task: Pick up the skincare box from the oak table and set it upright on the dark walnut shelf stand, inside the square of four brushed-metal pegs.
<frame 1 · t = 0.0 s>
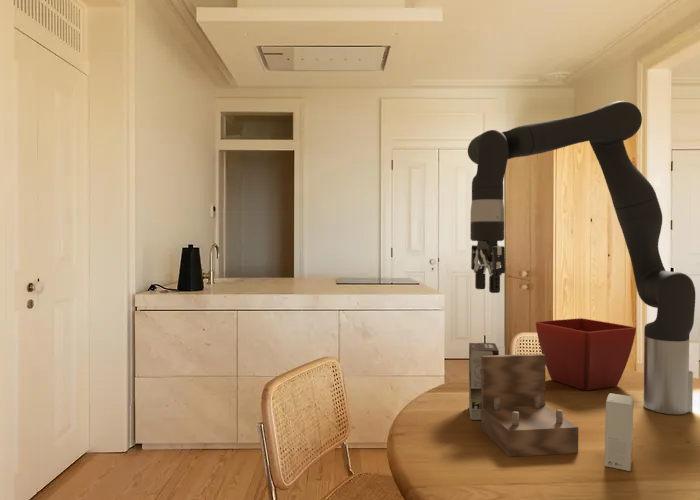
hand: (487, 290, 117), 29 cm above the table, tool pointing down, fingers open, 8 cm apart
skincare box: (619, 464, 93), on the table
peg shelf stand: (526, 440, 104), on the table
plant pot: (583, 383, 145), on the table
coffee box: (483, 415, 119), on the table
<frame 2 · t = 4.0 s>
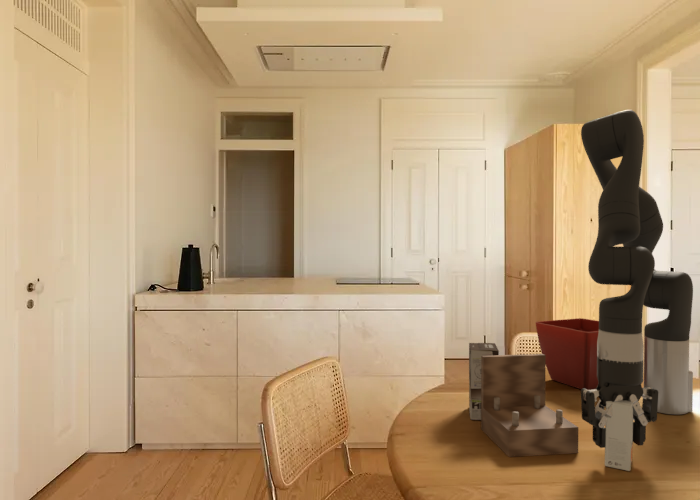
hand: (618, 444, 93), 3 cm above the table, tool pointing down, fingers closed on skincare box, 7 cm apart
skincare box: (618, 464, 93), on the table, touching gripper
everything else where it was.
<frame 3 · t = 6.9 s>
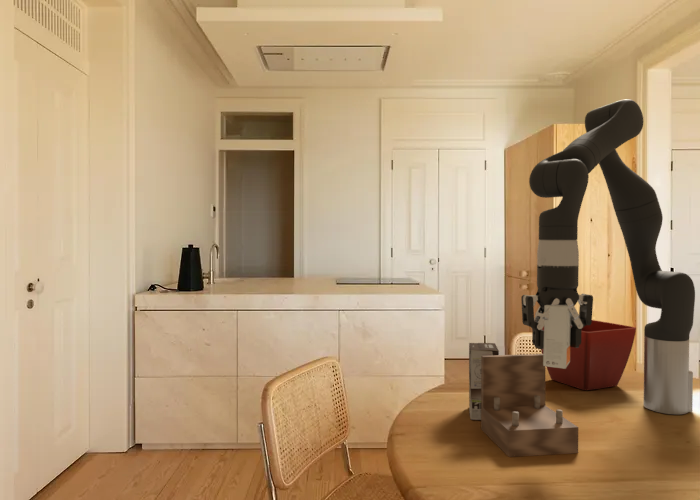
hand: (556, 347, 99), 20 cm above the table, tool pointing down, fingers closed on skincare box, 7 cm apart
skincare box: (557, 365, 99), point 16 cm above the table, touching gripper
everything else where it was.
when the fingers open (9 cm above the table, at t = 10.3 s): skincare box stays where it is, resting on peg shelf stand.
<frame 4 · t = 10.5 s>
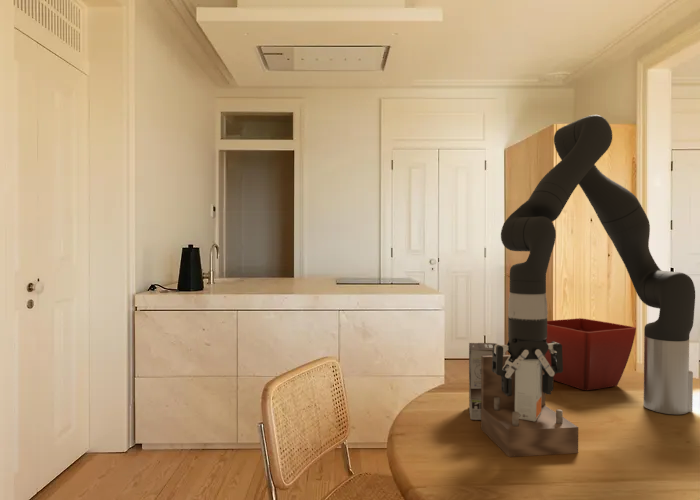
hand: (527, 394, 104), 9 cm above the table, tool pointing down, fingers open, 8 cm apart
skincare box: (528, 417, 104), point 5 cm above the table, touching peg shelf stand
everything else where it was.
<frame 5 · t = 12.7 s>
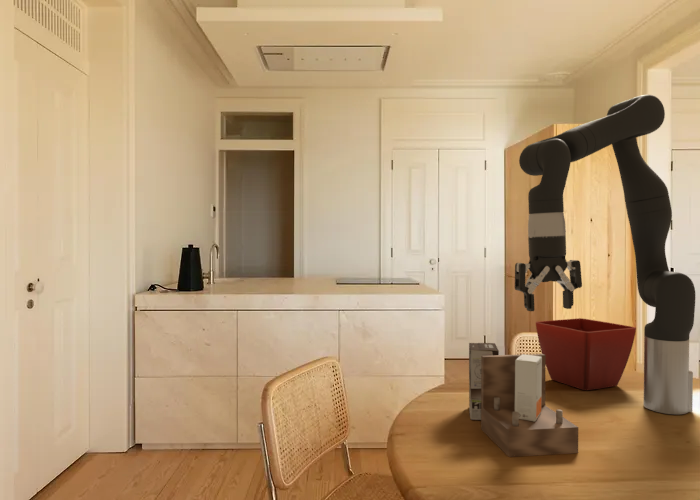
hand: (548, 309, 109), 26 cm above the table, tool pointing down, fingers open, 8 cm apart
nothing on the table moved.
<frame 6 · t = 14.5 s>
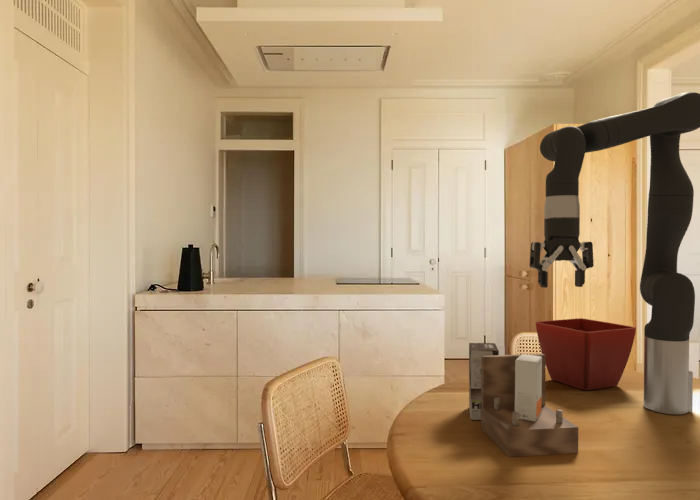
hand: (561, 287, 117), 30 cm above the table, tool pointing down, fingers open, 8 cm apart
nothing on the table moved.
at the end: skincare box 0.3 cm off-centre on the peg shelf stand, point 4.8 cm above the peg shelf stand's base; skincare box tilted 0°; the gripper is holding nothing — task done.
